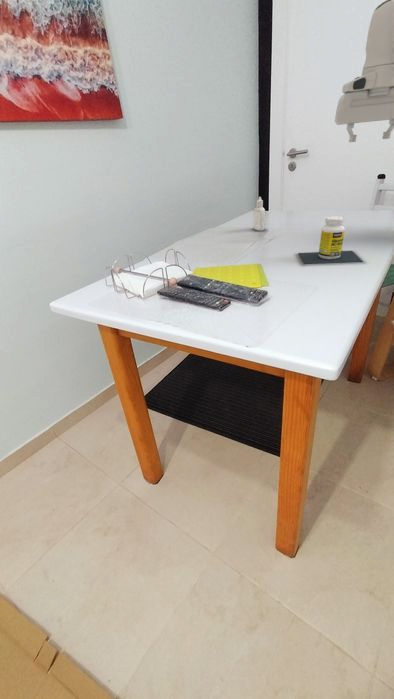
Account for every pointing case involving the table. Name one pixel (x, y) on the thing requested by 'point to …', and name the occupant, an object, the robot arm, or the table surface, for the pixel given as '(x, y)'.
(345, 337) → the table surface
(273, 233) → the table surface
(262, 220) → the eye dropper bottle
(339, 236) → the pill bottle
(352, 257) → the mat
